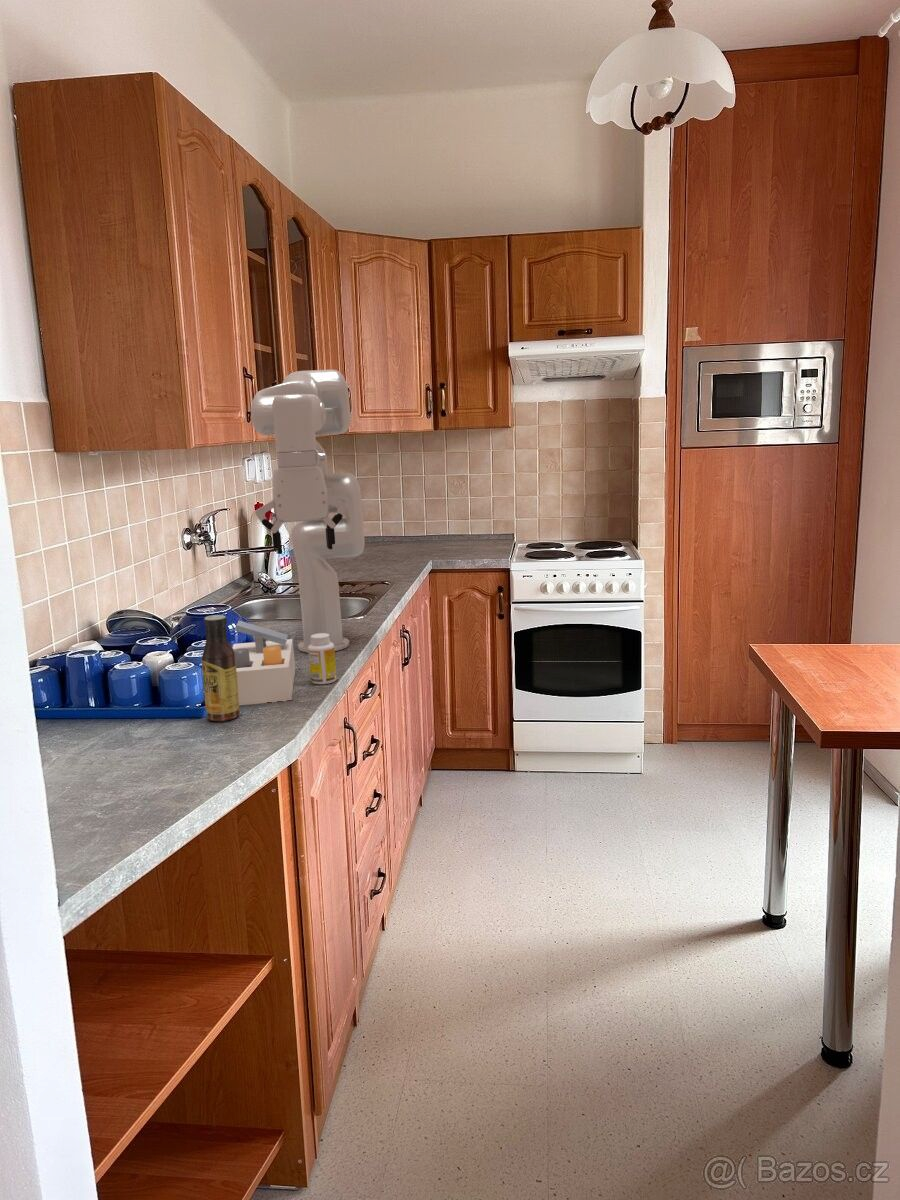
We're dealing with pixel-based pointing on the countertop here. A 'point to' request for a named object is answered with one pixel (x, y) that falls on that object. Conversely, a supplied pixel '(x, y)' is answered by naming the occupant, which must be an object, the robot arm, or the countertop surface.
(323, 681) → the supplement bottle
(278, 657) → the button orange
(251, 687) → the panel
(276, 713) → the countertop surface
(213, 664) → the sauce bottle
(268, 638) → the rocker
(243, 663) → the button charcoal
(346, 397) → the robot arm
